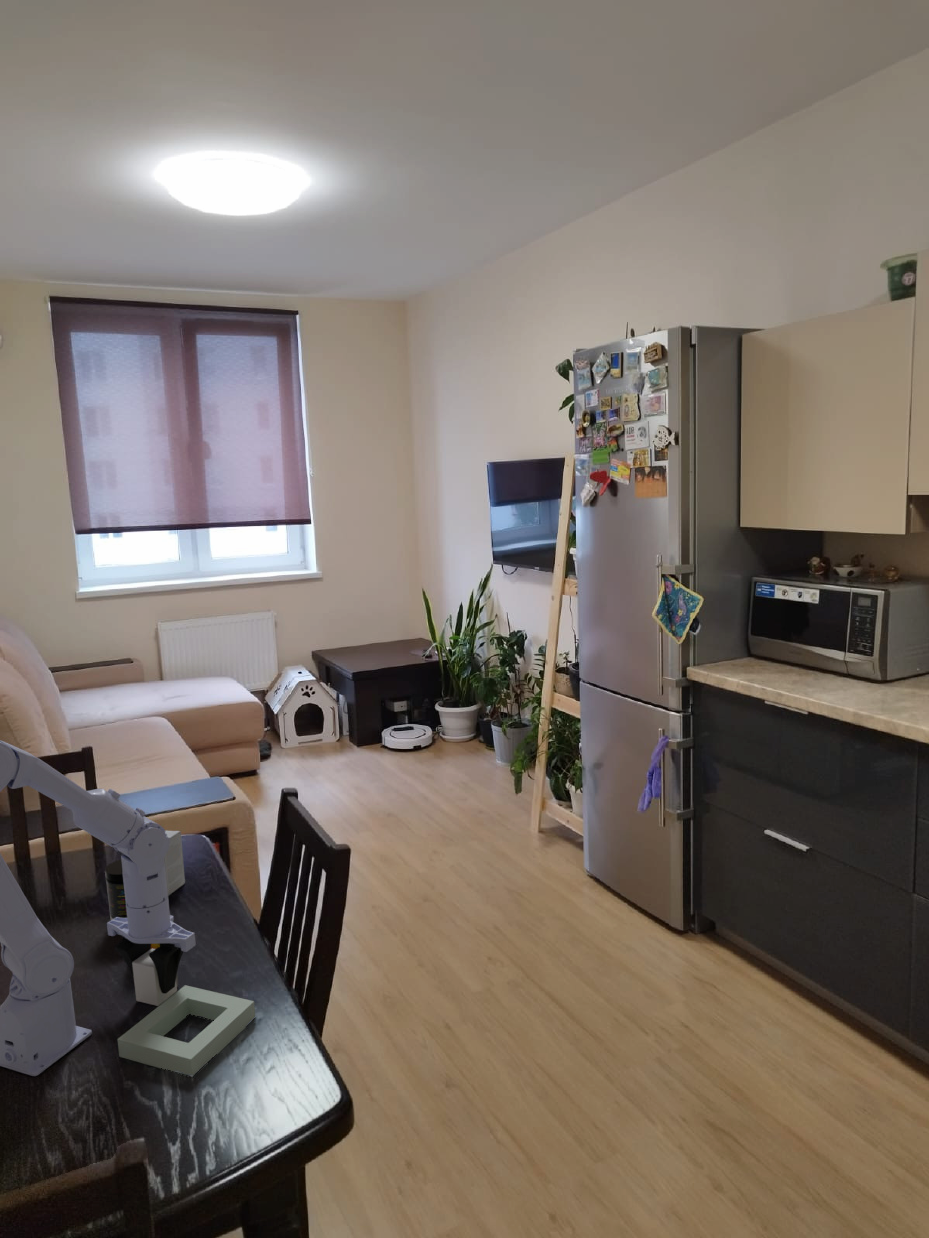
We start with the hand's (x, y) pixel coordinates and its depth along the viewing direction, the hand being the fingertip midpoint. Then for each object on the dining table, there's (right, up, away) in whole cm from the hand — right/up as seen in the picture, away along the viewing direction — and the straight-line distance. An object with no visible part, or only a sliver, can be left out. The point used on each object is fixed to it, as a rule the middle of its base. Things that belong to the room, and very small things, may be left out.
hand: (156, 986), depth 127 cm
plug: (0, -1, 0) cm, 1 cm away
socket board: (+8, -3, -9) cm, 13 cm away
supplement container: (-12, +1, +23) cm, 26 cm away
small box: (-12, +3, +35) cm, 38 cm away
